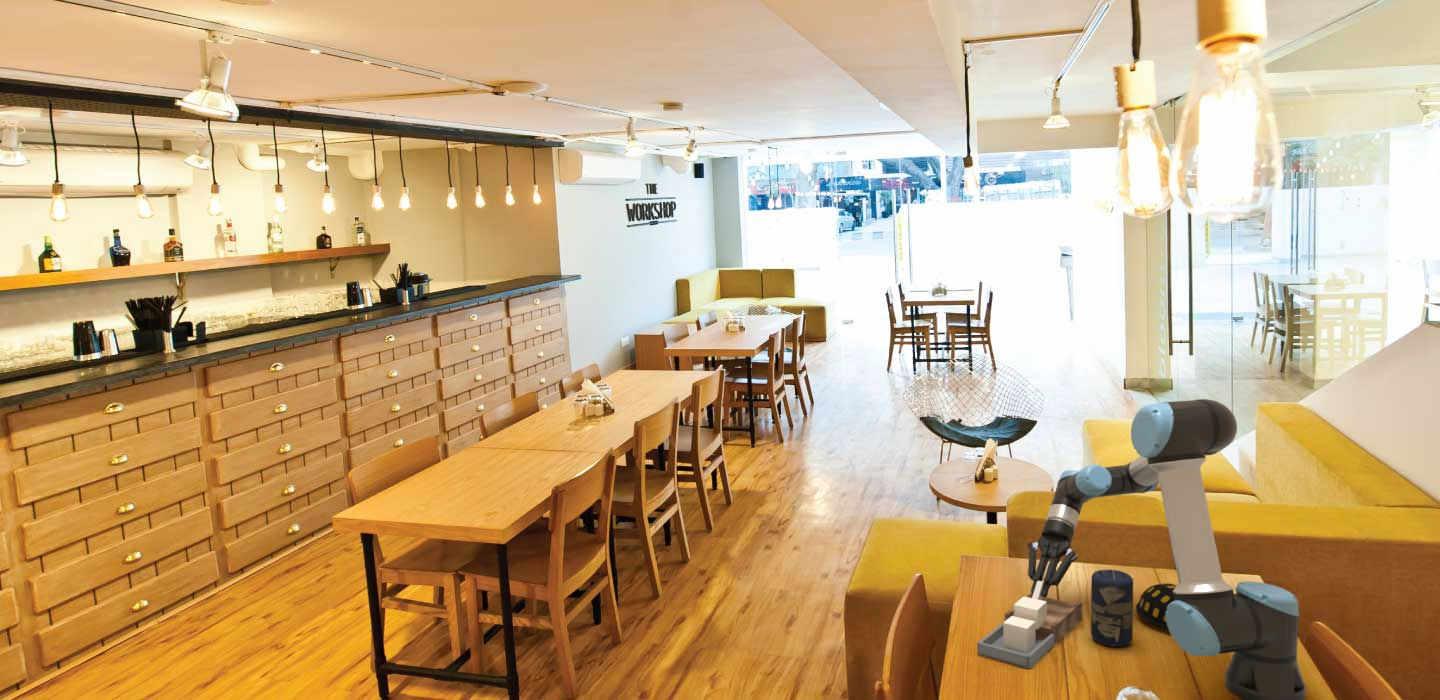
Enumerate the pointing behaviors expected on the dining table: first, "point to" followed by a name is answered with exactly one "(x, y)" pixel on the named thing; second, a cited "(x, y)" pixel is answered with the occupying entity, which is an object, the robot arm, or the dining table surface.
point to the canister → (1112, 607)
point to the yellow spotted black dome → (1156, 604)
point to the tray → (996, 650)
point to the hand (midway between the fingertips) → (1034, 606)
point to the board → (1056, 618)
